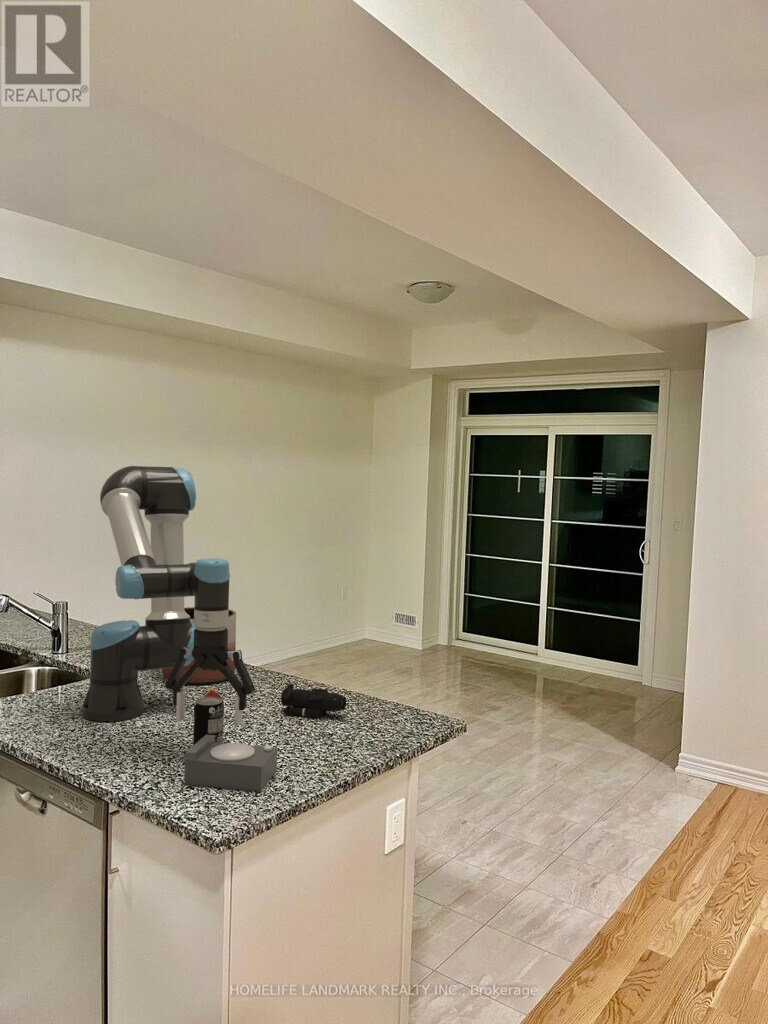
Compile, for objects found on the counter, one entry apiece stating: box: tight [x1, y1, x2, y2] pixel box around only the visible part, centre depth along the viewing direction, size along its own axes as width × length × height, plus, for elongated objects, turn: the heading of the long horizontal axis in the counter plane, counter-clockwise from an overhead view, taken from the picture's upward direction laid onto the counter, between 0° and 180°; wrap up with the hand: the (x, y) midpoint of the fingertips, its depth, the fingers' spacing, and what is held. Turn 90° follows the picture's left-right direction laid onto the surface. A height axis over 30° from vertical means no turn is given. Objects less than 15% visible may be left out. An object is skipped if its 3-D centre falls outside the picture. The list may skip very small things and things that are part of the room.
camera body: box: [184, 735, 278, 792], centre depth 156 cm, size 16×11×6 cm
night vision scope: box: [280, 683, 347, 719], centre depth 199 cm, size 8×18×10 cm
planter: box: [161, 606, 237, 685], centre depth 234 cm, size 22×22×20 cm
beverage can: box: [192, 696, 225, 746], centre depth 169 cm, size 7×7×12 cm
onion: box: [203, 687, 225, 707], centre depth 193 cm, size 6×6×8 cm
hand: (209, 722), depth 169 cm, fingers open, 13 cm apart
